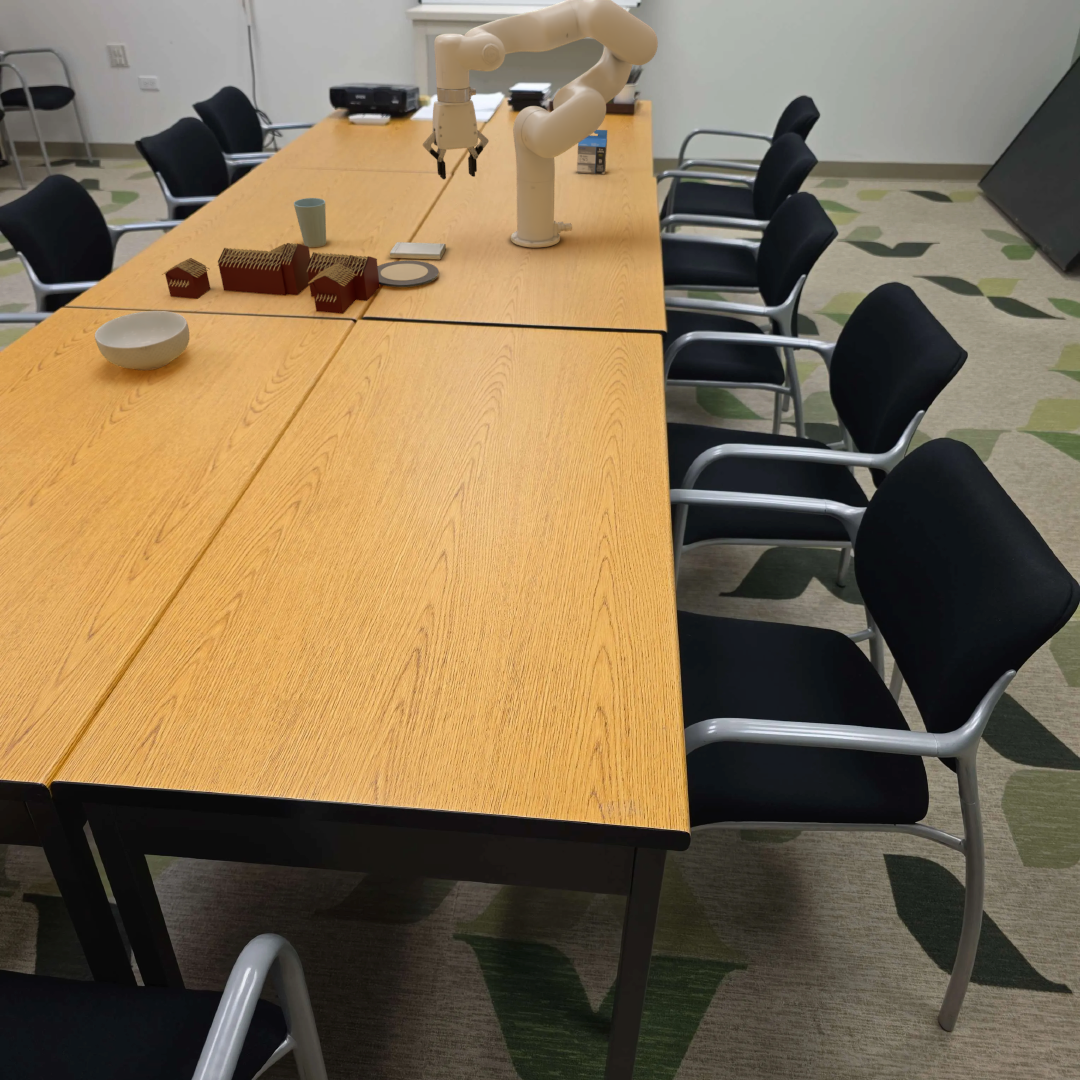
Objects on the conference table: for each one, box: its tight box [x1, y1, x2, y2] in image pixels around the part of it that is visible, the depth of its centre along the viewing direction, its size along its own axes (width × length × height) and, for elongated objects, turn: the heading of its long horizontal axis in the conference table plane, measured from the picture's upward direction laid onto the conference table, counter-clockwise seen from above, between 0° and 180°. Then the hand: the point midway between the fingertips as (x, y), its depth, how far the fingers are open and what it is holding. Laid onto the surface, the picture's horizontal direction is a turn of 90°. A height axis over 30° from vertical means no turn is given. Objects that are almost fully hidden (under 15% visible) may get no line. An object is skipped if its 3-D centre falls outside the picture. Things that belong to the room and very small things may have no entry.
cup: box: [293, 197, 327, 248], centre depth 230 cm, size 8×8×10 cm
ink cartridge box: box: [576, 129, 608, 175], centre depth 286 cm, size 9×4×12 cm, turn 81°
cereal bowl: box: [94, 310, 190, 371], centre depth 175 cm, size 17×17×7 cm
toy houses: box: [161, 242, 381, 315], centre depth 204 cm, size 45×20×10 cm, turn 79°
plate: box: [377, 260, 440, 288], centre depth 214 cm, size 16×16×1 cm
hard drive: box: [389, 241, 447, 260], centre depth 227 cm, size 2×8×12 cm
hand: (457, 175), depth 220 cm, fingers open, 6 cm apart
